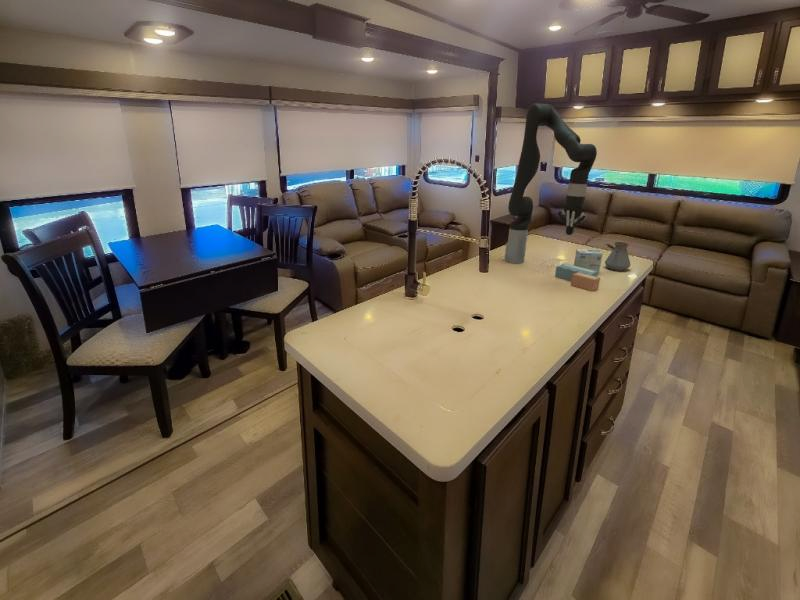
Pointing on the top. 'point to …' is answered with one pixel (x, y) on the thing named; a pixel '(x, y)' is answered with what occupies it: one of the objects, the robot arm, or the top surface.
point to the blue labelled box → (572, 271)
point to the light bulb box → (588, 259)
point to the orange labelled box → (585, 281)
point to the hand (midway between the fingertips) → (569, 234)
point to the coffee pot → (618, 257)
